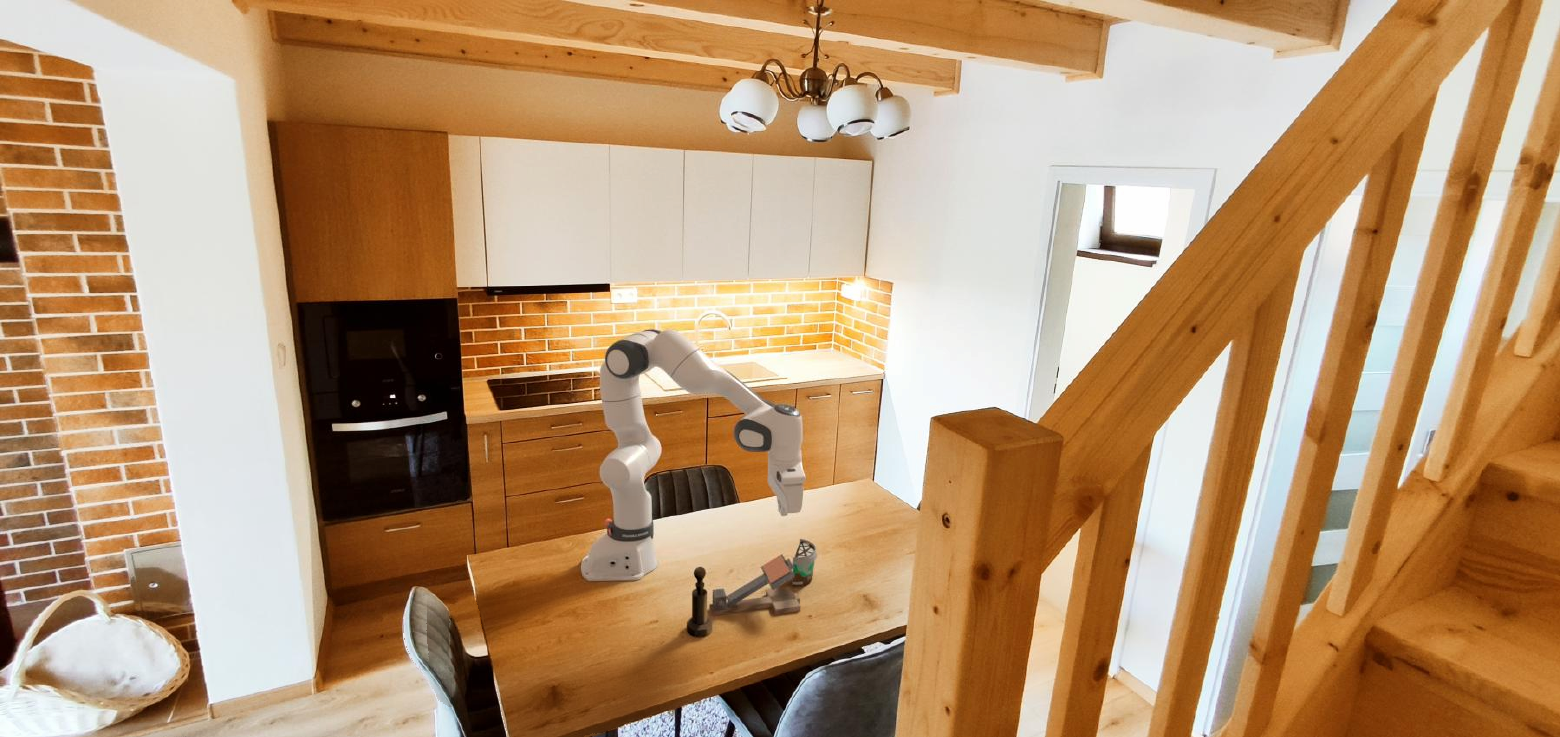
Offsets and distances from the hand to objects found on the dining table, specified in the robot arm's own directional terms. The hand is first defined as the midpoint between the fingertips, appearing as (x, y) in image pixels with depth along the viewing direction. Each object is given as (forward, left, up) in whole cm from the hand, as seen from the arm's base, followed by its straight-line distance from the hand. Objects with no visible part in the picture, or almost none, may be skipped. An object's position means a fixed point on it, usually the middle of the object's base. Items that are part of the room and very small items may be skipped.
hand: (782, 513), depth 198 cm
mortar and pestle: (-24, -7, -27) cm, 37 cm away
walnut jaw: (-7, 0, -27) cm, 28 cm away
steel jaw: (-5, 0, -21) cm, 21 cm away
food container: (+11, +10, -27) cm, 31 cm away
